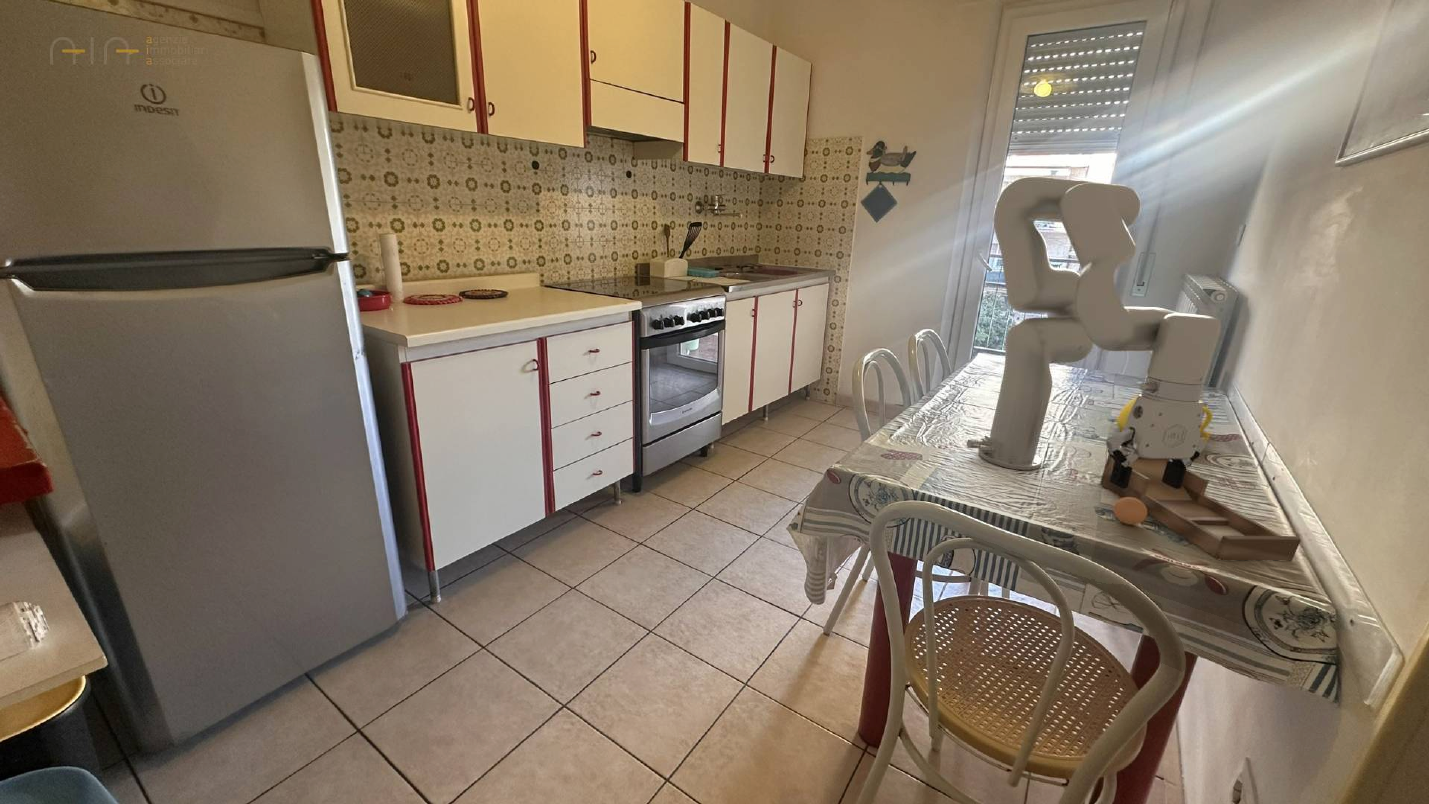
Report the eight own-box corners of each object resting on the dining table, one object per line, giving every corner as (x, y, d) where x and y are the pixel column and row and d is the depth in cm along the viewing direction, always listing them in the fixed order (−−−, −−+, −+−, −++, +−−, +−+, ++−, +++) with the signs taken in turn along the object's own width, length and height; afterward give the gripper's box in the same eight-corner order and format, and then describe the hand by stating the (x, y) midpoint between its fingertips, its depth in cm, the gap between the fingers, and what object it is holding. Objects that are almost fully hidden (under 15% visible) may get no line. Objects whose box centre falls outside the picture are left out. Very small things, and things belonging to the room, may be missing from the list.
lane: (1099, 483, 115) (1109, 452, 113) (1156, 484, 116) (1167, 453, 114) (1220, 560, 90) (1235, 522, 87) (1291, 560, 91) (1308, 523, 88)
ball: (1123, 529, 98) (1131, 505, 96) (1103, 515, 102) (1111, 492, 101) (1149, 529, 98) (1157, 505, 96) (1128, 515, 102) (1136, 492, 101)
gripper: (1140, 395, 87) (1113, 494, 92) (1242, 397, 89) (1210, 495, 94) (1105, 383, 95) (1081, 476, 100) (1199, 385, 96) (1172, 476, 101)
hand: (1144, 485), depth 97 cm, fingers open, 9 cm apart
